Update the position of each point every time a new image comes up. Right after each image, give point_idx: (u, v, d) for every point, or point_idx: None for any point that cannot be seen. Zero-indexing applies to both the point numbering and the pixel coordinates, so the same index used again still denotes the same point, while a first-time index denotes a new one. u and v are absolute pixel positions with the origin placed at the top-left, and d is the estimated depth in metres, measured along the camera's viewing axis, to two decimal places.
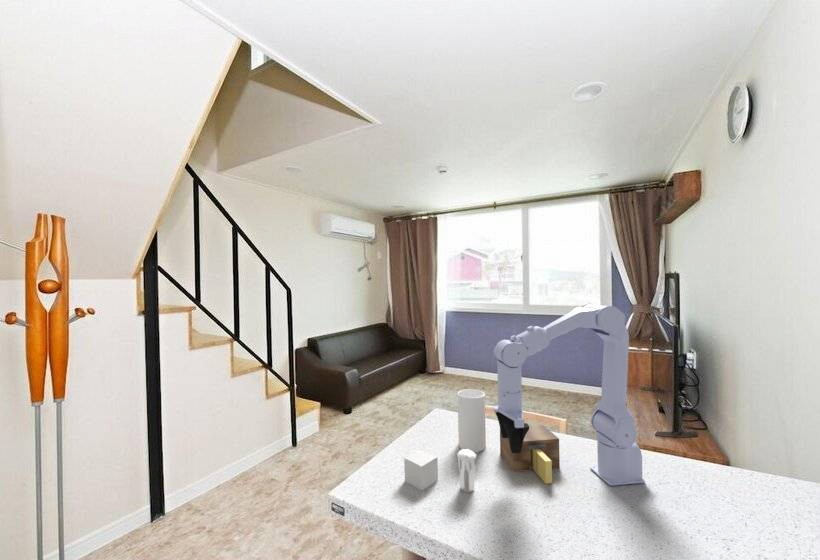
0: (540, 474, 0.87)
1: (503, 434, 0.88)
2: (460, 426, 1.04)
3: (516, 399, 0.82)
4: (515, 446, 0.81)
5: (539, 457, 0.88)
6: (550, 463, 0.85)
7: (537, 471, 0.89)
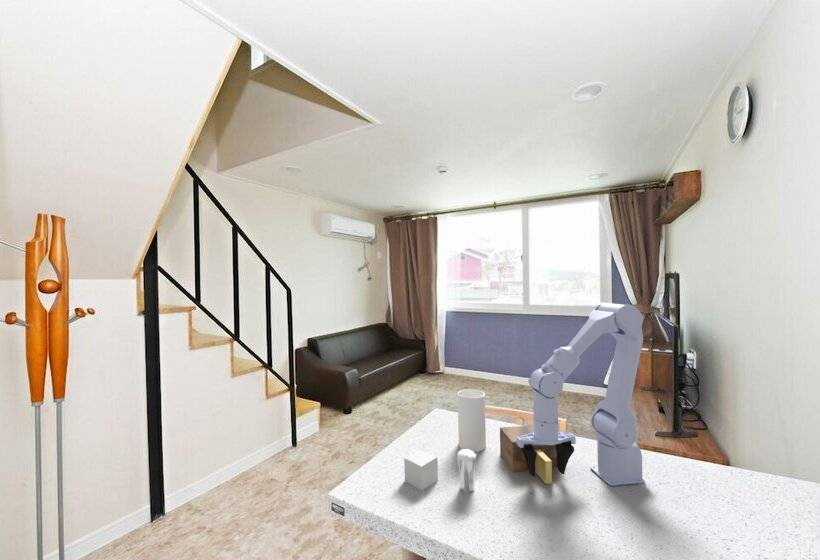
0: (540, 474, 0.87)
1: (557, 466, 0.87)
2: (460, 426, 1.04)
3: (536, 426, 0.85)
4: (529, 467, 0.86)
5: (539, 457, 0.88)
6: (550, 463, 0.85)
7: (537, 471, 0.89)
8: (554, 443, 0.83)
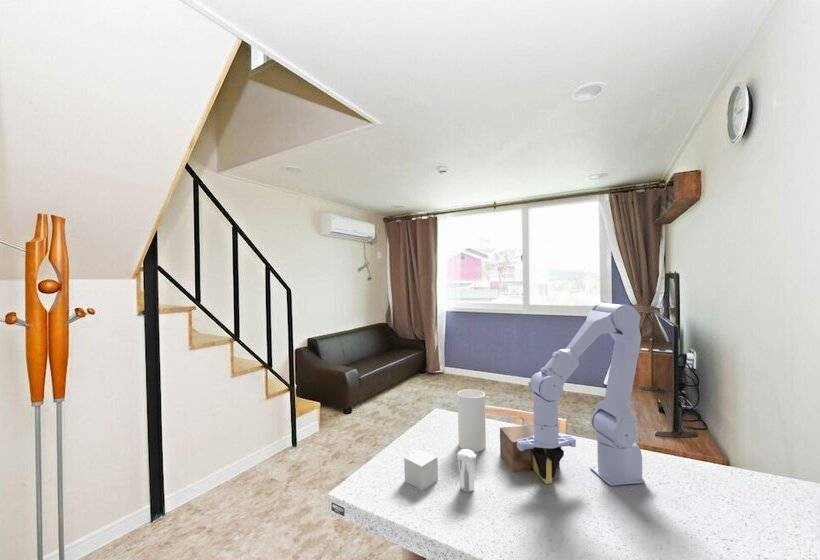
0: None
1: None
2: (460, 426, 1.04)
3: (536, 429, 0.85)
4: (540, 469, 0.86)
5: None
6: (550, 463, 0.85)
7: (537, 471, 0.89)
8: (554, 446, 0.83)
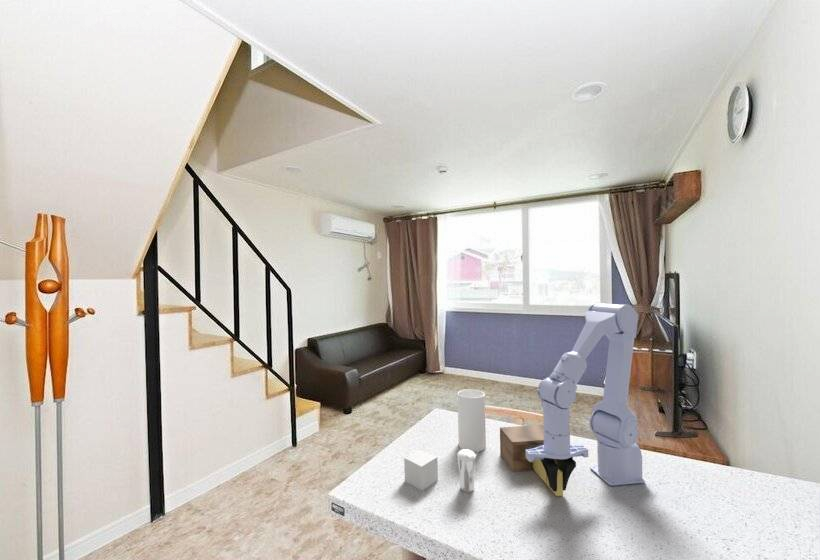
0: None
1: None
2: (460, 426, 1.04)
3: (546, 438, 0.80)
4: (550, 481, 0.81)
5: None
6: (561, 475, 0.80)
7: (547, 482, 0.84)
8: (566, 457, 0.78)
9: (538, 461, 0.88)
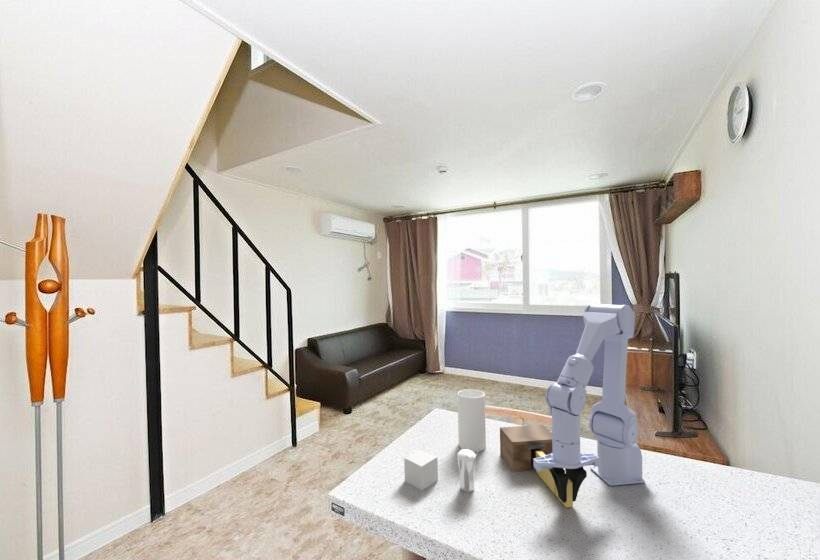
0: None
1: None
2: (460, 426, 1.04)
3: (555, 446, 0.76)
4: (559, 491, 0.77)
5: None
6: (571, 485, 0.76)
7: (555, 492, 0.80)
8: (576, 466, 0.74)
9: (546, 469, 0.84)
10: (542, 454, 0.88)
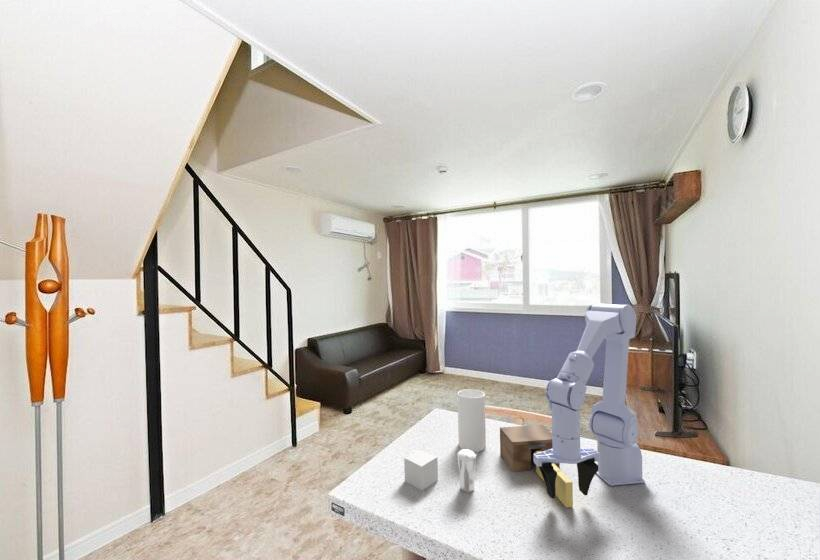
0: (559, 496, 0.79)
1: (579, 486, 0.78)
2: (460, 426, 1.04)
3: (555, 442, 0.76)
4: (548, 488, 0.77)
5: (558, 477, 0.79)
6: (571, 485, 0.76)
7: (555, 492, 0.80)
8: (576, 461, 0.74)
9: None
10: None
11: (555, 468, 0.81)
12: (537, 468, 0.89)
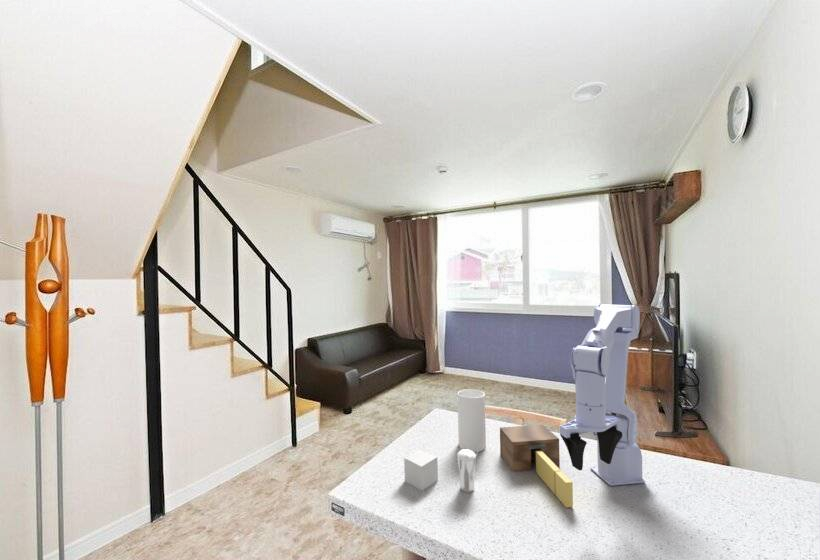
0: (559, 496, 0.79)
1: (601, 455, 0.76)
2: (460, 426, 1.04)
3: (582, 411, 0.73)
4: (574, 460, 0.73)
5: (558, 477, 0.79)
6: (571, 485, 0.76)
7: (555, 492, 0.80)
8: (604, 429, 0.72)
9: (546, 469, 0.84)
10: (542, 454, 0.88)
11: (555, 468, 0.81)
12: (537, 468, 0.89)
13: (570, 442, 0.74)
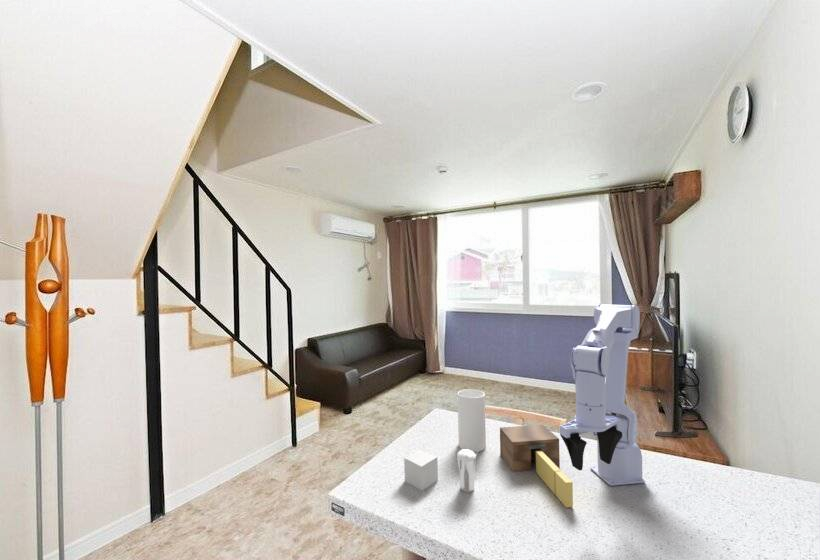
0: (559, 496, 0.79)
1: (601, 455, 0.76)
2: (460, 426, 1.04)
3: (582, 411, 0.73)
4: (574, 460, 0.73)
5: (558, 477, 0.79)
6: (571, 485, 0.76)
7: (555, 492, 0.80)
8: (604, 429, 0.72)
9: (546, 469, 0.84)
10: (542, 454, 0.88)
11: (555, 468, 0.81)
12: (537, 468, 0.89)
13: (570, 442, 0.74)
